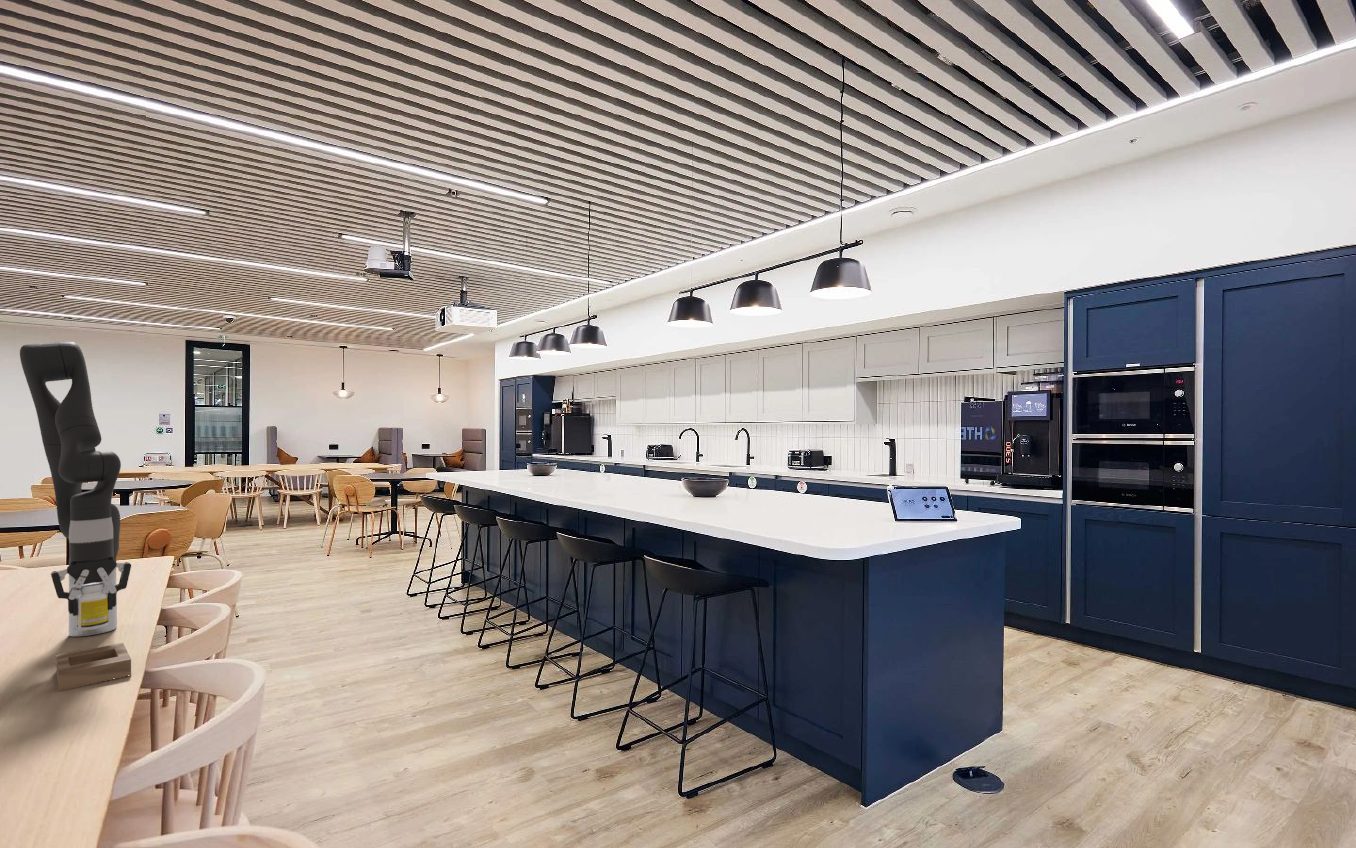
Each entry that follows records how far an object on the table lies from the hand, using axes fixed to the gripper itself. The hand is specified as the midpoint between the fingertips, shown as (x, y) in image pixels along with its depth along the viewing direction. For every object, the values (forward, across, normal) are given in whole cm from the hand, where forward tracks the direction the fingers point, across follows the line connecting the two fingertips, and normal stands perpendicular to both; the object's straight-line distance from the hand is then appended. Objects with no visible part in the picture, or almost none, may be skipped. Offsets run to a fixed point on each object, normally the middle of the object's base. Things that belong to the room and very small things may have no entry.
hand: (92, 611), depth 149 cm
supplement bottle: (+4, 0, 0) cm, 4 cm away
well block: (+10, -1, -14) cm, 18 cm away
